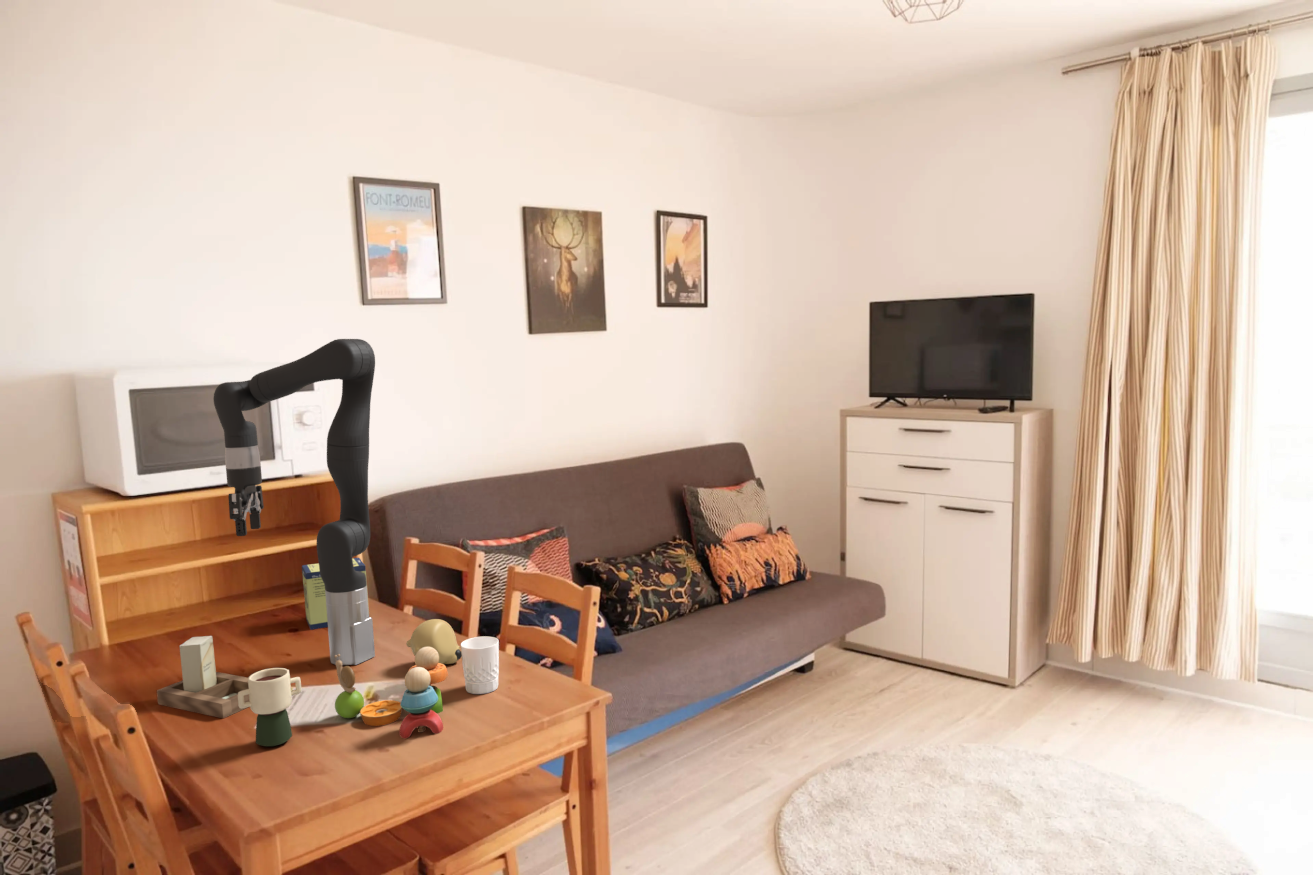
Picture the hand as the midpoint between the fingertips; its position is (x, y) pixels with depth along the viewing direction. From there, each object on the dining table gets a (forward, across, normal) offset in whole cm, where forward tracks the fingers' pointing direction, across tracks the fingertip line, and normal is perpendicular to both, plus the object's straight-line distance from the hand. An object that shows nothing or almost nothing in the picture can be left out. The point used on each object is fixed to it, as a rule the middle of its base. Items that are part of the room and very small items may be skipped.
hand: (249, 532), depth 205 cm
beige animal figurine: (+30, -16, -45) cm, 57 cm away
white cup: (+30, -32, -58) cm, 73 cm away
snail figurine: (+30, -42, -33) cm, 61 cm away
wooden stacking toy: (+30, -46, -45) cm, 72 cm away
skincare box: (+30, -26, +2) cm, 40 cm away
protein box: (+30, +24, -12) cm, 41 cm away
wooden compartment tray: (+30, -29, -2) cm, 42 cm away
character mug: (+30, -52, -22) cm, 64 cm away
